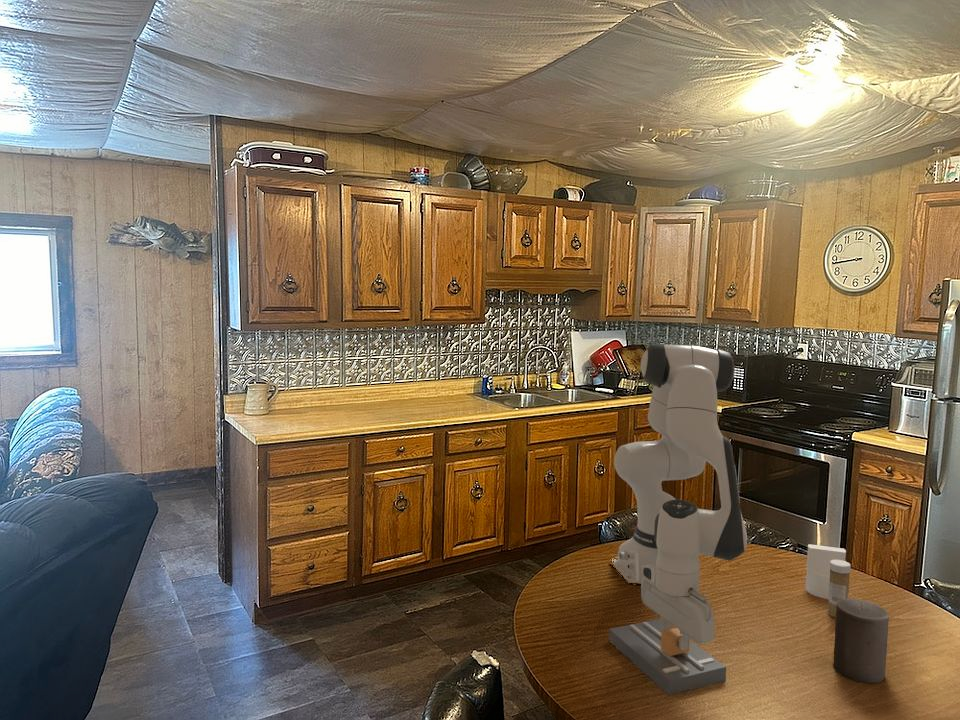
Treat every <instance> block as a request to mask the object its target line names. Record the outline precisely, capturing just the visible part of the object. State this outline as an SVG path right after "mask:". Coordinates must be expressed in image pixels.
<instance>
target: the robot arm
mask: <svg viewBox="0 0 960 720" xmlns="http://www.w3.org/2000/svg"><path fill="white" fill-rule="evenodd" d="M735 369H736V367H735V360H734V358H733V356H732V355H731V353H730V352H727V351H724V350H723V349H720V348H716V349H712V348H708V347H704V346H699V345H692V344H690V345H685V344H665V343H664V342H662V343H653V344H650V345H649V346H647V347H646V348H645V351H644V352H643V355H642V357H641V359H640V371H641V375H642V378H643V379H644V381H645V382H646V383H647V384H649V385H652V386H653V387H652V391H651V397H650V402H649V407H648V413H647V421H648V424H649V425H650V427H651V428H652V430H653V431H655V432H657V433H659V434H660V435H661V438H660V439H659V440H646V441H645V440H644V441H634V442H631V443H630V442H629V443H626V444H622V445H620V446H619V447H618V448H617V450H616V451H615V454H614V459H613V466H614V468H615V471H616V473H617V475H618V476H619V477H620V478H621V479H622V480H623V481H625V483H627V484H628V485H629V486H630V488H631V489H632V492H633V493H634V495H635V498H636V505H637V509H636V510H637V524H636V525H632V526H631V527H632V528H631V530H633V531H634V532H633V536H632V537H631V538H630V539H629V538H628V539H627V540H626V541H624V542H622V543H621V544H620V545H619V548H618V551H617V553H618V554H617V555H618V556H615V557H613V558H611V559H612V562H613V561H614V563H613V564H614V565H615V566H616V568H617V569H618V570H619V571H620V572H621V573H622V575H623V576H624V577H625V578H626V579H627V580H628V581H630V582H635V583H641V585H640V597H641V601H642V603H643V604H644V605H645V606H646V607H647V608H648V609H650V610H651V611H653V612H654V613H655V614H657V615H659V619H660V621H661V624H662V627H663V631H664V630H669V629H672V627H673V626H674V627H675V628H678V629H679V630H680V634H681V637H680V638H679V639H677V640H676V642H677V644H676V646H677V647H678V648H680V649H681V650H684V649H687V648H688V641H689V639H690V640H693V642H696V644H700V645H703V644H708V643H711V642H712V641H714V640H715V636H716V635H715V634H716V631H715V629H716V627H715V618H714V617H715V616H714V610H713V607H712V605H711V604H710V602H709V601H708V597H706V596H705V595H703V594H701V593H700V592H699V591H700V574H701V573H700V571H701V565H700V562H699V555H702V556H703V555H704V556H709V557H713V558H715V559H716V558H717V559H721V560H725V561H729V562H730V561H733V560H734V559H736V558H738V557H739V556H741V555H742V554H743V553H745V551H746V550H745V549H746V547H747V543H748V535H747V528H746V524H745V521H744V517H743V515H742V508H741V501H740V500H741V498H740V492H739V484H738V477H737V469H736V463H735V458H734V457H735V456H734V453H733V452H734V451H733V447H732V444H731V441H730V439H729V438H727V437H726V436H724V435H723V434H722V431H721V430H720V427H719V423H718V393H719V392H724V391H726V390H728V389H729V387H731V385H732V382H733V379H734V377H735V372H736V371H735ZM706 462H707V463H708V464H710V466H712V467H713V469H714V470H715V472H716V475H717V481H718V489H719V498H720V506H721V507H720V508H719V509H718V510H710V509H703V508H698V506H697V505H695V503H694V502H691V501H689V500H684V499H676V498H675V497H674V496H672V495H671V494H669V493H668V492H666V491H663V485H662V483H663V482H664V481H679V480H687V479H691V478H693V477H698V476H701V474H702V473H703V472H704V469H705V467H706ZM614 558H618V560H616V559H614ZM613 559H614V560H613ZM618 566H619V567H618Z"/></svg>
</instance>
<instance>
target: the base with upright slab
mask: <svg viewBox="0 0 960 720" xmlns="http://www.w3.org/2000/svg"><path fill="white" fill-rule="evenodd" d="M846 554H847V550H846V549H845V548H841V547H834V546H833V547H832V546H827V545H819V544H809V543H808V545H807V556H806V574H805V575H806V578H805V590H806V592H808V593H809V594H810V595H811V596H815V597H816V598H817V597H818V598H821V599H826V600H828V599H829V580H830V561H831V560H843V561H846V558H847V557H846Z"/></svg>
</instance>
